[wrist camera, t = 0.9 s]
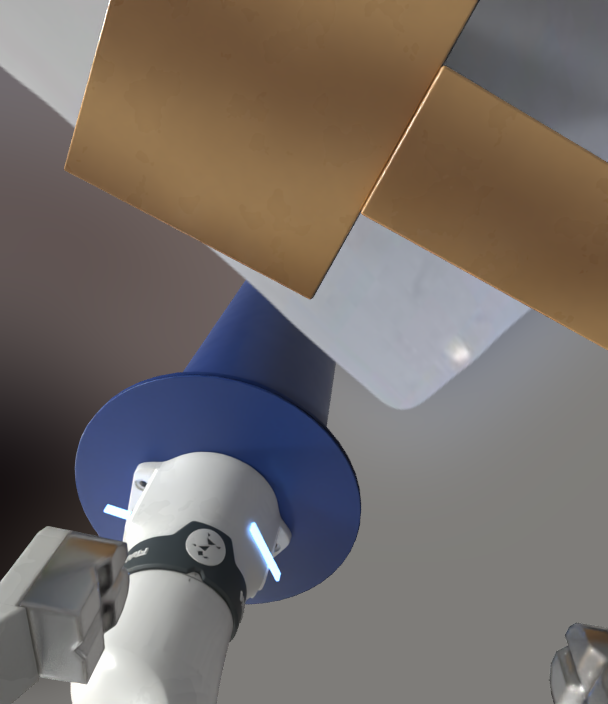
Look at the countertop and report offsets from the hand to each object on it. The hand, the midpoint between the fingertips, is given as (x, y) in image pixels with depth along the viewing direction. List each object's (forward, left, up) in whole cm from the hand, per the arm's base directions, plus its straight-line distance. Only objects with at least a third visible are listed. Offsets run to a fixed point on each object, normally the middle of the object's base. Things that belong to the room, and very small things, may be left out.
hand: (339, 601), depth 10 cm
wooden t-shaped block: (+7, +1, -12) cm, 14 cm away
